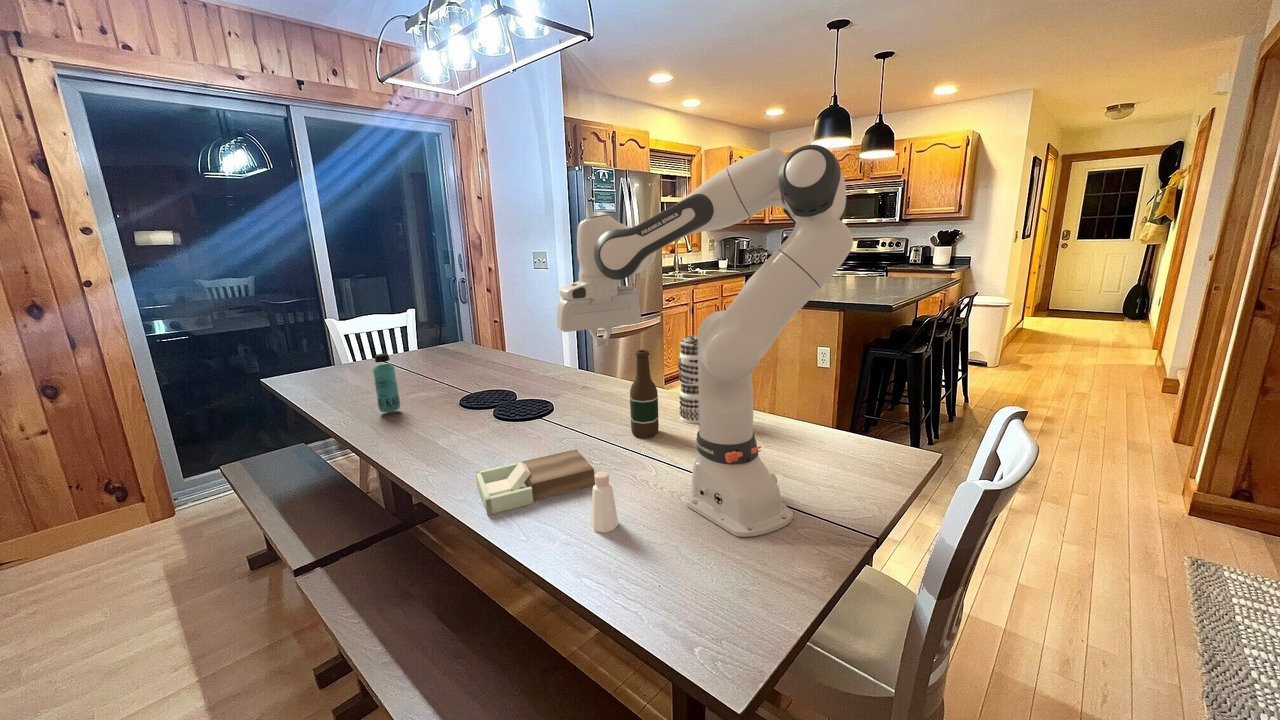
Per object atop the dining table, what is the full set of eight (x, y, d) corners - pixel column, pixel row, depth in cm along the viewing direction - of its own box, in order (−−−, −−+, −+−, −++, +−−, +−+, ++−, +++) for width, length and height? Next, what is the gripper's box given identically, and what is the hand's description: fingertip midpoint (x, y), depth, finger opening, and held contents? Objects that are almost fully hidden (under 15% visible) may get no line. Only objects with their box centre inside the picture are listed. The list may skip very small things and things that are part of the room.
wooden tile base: (594, 485, 115) (593, 469, 114) (534, 500, 109) (532, 483, 108) (577, 464, 125) (576, 449, 124) (521, 477, 119) (519, 461, 118)
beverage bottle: (381, 411, 168) (371, 353, 163) (403, 408, 170) (393, 351, 165) (378, 418, 162) (367, 357, 157) (400, 415, 164) (390, 355, 159)
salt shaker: (585, 525, 99) (581, 474, 96) (606, 514, 103) (603, 465, 100) (603, 536, 95) (600, 484, 93) (624, 524, 99) (621, 473, 96)
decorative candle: (714, 415, 154) (714, 335, 148) (701, 425, 146) (701, 341, 140) (686, 411, 159) (686, 333, 152) (673, 420, 151) (672, 339, 145)
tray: (533, 503, 108) (532, 488, 107) (487, 515, 104) (485, 499, 103) (518, 476, 120) (517, 462, 119) (477, 485, 116) (475, 471, 115)
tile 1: (487, 494, 108) (488, 500, 109) (510, 488, 110) (511, 495, 111) (483, 484, 113) (484, 490, 113) (506, 478, 115) (507, 485, 115)
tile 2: (530, 473, 111) (525, 470, 110) (516, 492, 111) (510, 488, 110) (525, 464, 116) (520, 461, 115) (512, 482, 115) (506, 479, 114)
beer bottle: (659, 428, 146) (657, 347, 140) (657, 439, 138) (655, 354, 132) (632, 428, 147) (629, 347, 141) (629, 438, 139) (626, 354, 133)
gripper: (633, 283, 125) (635, 338, 128) (552, 290, 116) (557, 348, 120) (644, 285, 119) (646, 342, 123) (560, 292, 111) (565, 354, 114)
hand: (601, 345), depth 121 cm, fingers closed
